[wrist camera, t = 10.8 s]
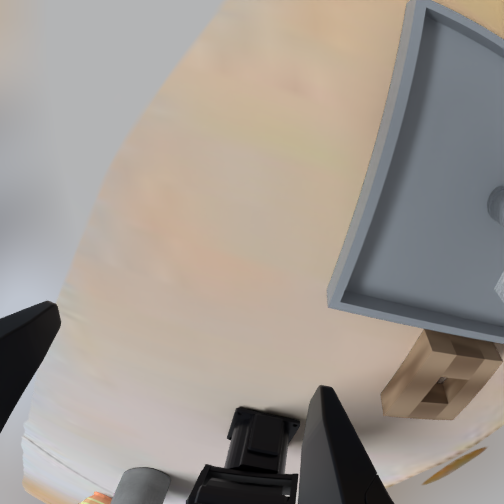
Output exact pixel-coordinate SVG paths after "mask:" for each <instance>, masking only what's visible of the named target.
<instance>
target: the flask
mask: <svg viewBox="0 0 504 504" xmlns="http://www.w3.org/2000/svg"><path fill="white" fill-rule="evenodd" d="M170 482H171V479H170V477H169V476H168V475H166V474H165V473H163V472H161V471H158V470H156V469H152V468H145V467H143V468H134V469H130V470H127V471H126V472H124V474H123V476H122V478H121V480H120V483H119V485H118V487H117V489H116V492H115V494H114V496H113V498H112V501H111V503H110V504H163V501H164V499H165V496H166V493H167V490H168V487H169V485H170Z"/></svg>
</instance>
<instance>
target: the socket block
mask: <svg viewBox="0 0 504 504" xmlns="http://www.w3.org/2000/svg"><path fill="white" fill-rule="evenodd" d="M502 362H503V360H502V359H501V357H500V355H499V353H498V351H497V349H496V347H495V345H494V343H493V342H489V341H483V340H478V339H472V338H467V337H462V336H457V335H451V334H446V333H441V332H436V331H431V330H426V329H424V330H423V332H422V334H421V335H420V337H419V338H418V340H417V342H416V343H415V345H414V346H413V348H412V349H411V351H410V353H409V354H408V356H407V357H406V359H405V360H404V362H403V363H402V365H401V366H400V368H399V369H398V371H397V372H396V373H395V375H394V376H393V378H392V379H391V381H390V382H389V383H388V385H387V386H386V388H385V389H384V390H383V392H382V393H381V400H382V408H383V415H384V416H390V417H402V418H415V419H433V420H453V419H454V418H455V417H456V416H457V415H458V414H459V413H460V412H461V411H462V410H463V409H464V408H465V407H466V406H467V405H468V403H469V402H470V401H471V400H472V399H473V398H474V397H475V396H476V394H477V393H478V392H479V391H480V390H481V389H482V387H483V386H484V385H485V384H486V383H487V381H488V380H489V379H490V378H491V376H492V375H493V374H494V373H495V371H496V370H497V369H498V368H499V366H500V365H501V364H502ZM440 377H446V380H445V381H444V382H443V383H442V384H441V383H436V382H437V381H438V380H439V378H440Z"/></svg>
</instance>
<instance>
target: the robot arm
mask: <svg viewBox="0 0 504 504" xmlns="http://www.w3.org/2000/svg"><path fill="white" fill-rule="evenodd" d="M60 326H61V319H60V315H59V310H58V306H57V305H56V304H55V303H53V302H50V301H45V302H42V303H39V304H37V305H34V306H31V307H29V308H26V309H24V310H21V311H19V312H16V313H14V314H11V315H9V316H6V317H4V318H1V319H0V433H1V431H2V429H3V427H4V425H5V424H6V422H7V420H8V418H9V416H10V414H11V413H12V411H13V409H14V407H15V406H16V404H17V402H18V401H19V399H20V397H21V395H22V393H23V392H24V390H25V389H26V387H27V385H28V384H29V382H30V380H31V379H32V377H33V375H34V374H35V372H36V371H37V369H38V368H39V366H40V364H41V363H42V361H43V359H44V357H45V356H46V354H47V352H48V350H49V348H50V346H51V344H52V342H53V340H54V338H55V336H56V334H57V332H58V331H59V329H60ZM299 427H300V421H299V420H295V419H290V418H284V417H279V416H274V415H270V414H265V413H261V412H256V411H252V410H247V409H243V408H236V410H235V413H234V416H233V420H232V423H231V426H230V429H229V432H228V436H227V439H229V440H231V443H230V447H229V451H228V455H227V459H226V463H225V467H224V468H221V467H215V466H212V465H208V464H206V465H205V467H204V469H203V470H202V471H201V473H200V475H199V477H198V479H197V481H196V483H195V486H194V488H193V490H192V492H191V494H190V496H189V497H188V499H187V500H186V504H295V501H296V492H297V483H298V474H284V473H285V466H286V457H287V449H288V444H289V442H290V441H291V439H292V438H293V436H294V435H295V433H296V432H297V430H298V428H299ZM285 495H290V497H286V496H285ZM298 504H394V502H393V501H392V499H391V498H390V496H389V495H388V492H387V491H386V489H385V487H384V485H383V483H382V481H381V480H380V478H379V476H378V475H377V472H376V470H375V468H374V466H373V464H372V462H371V460H370V458H369V456H368V454H367V453H366V451H365V449H364V447H363V445H362V443H361V441H360V439H359V437H358V435H357V433H356V431H355V429H354V427H353V425H352V424H351V422H350V420H349V418H348V416H347V414H346V412H345V410H344V408H343V406H342V404H341V402H340V401H339V399H338V397H337V395H336V393H335V391H334V389H333V388H332V387H329V386H324V385H320V386H319V387H318V388H317V390H316V392H315V393H314V395H313V397H312V399H311V401H310V404H309V409H308V415H307V421H306V426H305V432H304V438H303V443H302V452H301V468H300V483H299V496H298Z"/></svg>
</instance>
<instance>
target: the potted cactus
mask: <svg viewBox="0 0 504 504" xmlns="http://www.w3.org/2000/svg"><path fill="white" fill-rule="evenodd" d="M111 501H112V498H110V497H108V496H106V495H103V494H101V493H98V492H94V495H93V496H90V497H88V498H86V499H85V500H84V501H83V502H82V503H80V504H110V503H111ZM78 504H79V503H78Z"/></svg>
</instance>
